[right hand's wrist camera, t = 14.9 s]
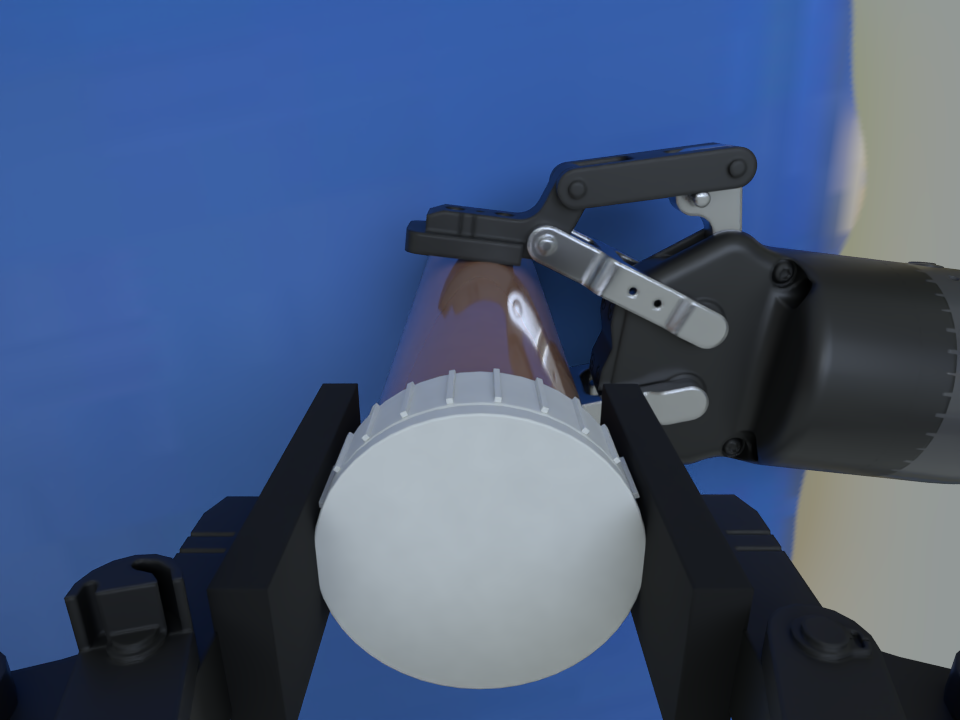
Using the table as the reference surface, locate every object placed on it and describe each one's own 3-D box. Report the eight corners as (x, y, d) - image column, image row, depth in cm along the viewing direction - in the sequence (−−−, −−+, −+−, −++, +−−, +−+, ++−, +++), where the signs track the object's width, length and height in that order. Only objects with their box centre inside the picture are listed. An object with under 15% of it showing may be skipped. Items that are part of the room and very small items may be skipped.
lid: (511, 302, 11) (517, 337, 9) (685, 527, 12) (716, 591, 11) (268, 478, 12) (235, 536, 10) (455, 663, 14) (452, 738, 12)
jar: (557, 284, 29) (673, 550, 11) (473, 350, 30) (464, 683, 13) (486, 198, 27) (498, 354, 10) (402, 271, 28) (284, 522, 11)
